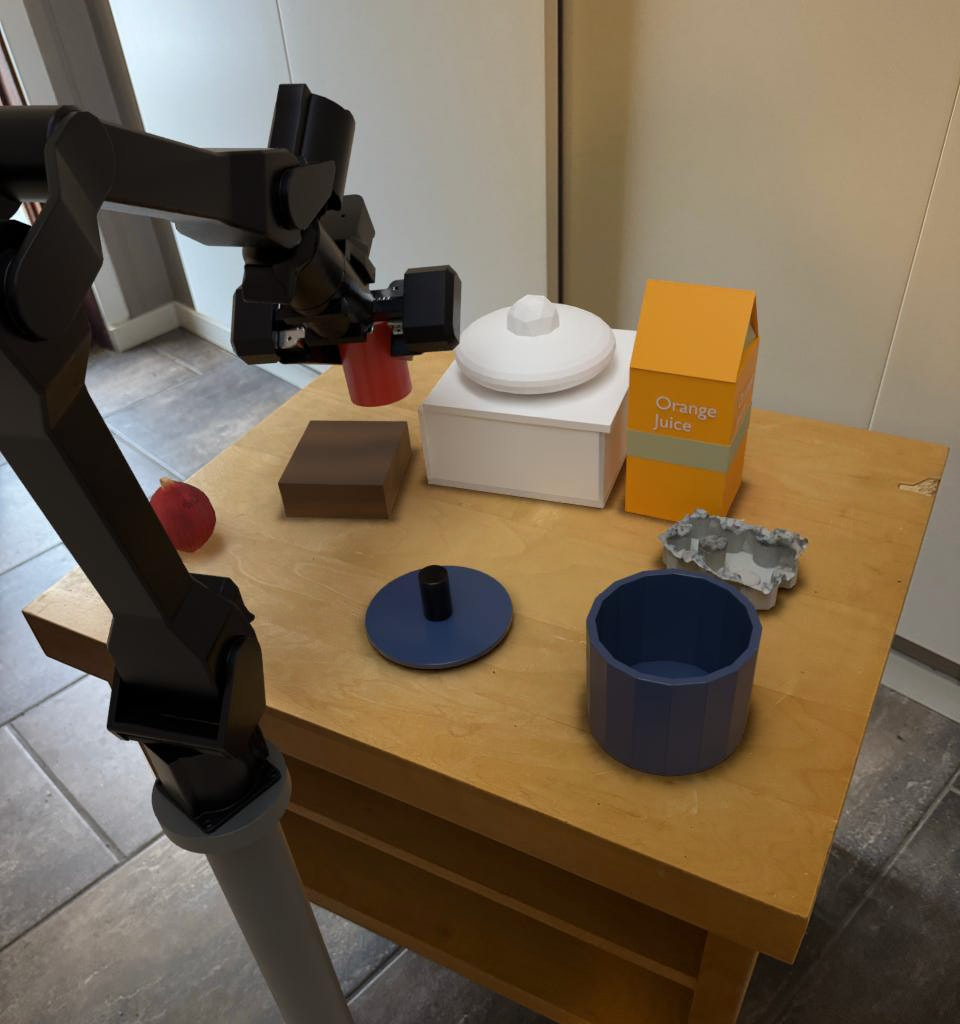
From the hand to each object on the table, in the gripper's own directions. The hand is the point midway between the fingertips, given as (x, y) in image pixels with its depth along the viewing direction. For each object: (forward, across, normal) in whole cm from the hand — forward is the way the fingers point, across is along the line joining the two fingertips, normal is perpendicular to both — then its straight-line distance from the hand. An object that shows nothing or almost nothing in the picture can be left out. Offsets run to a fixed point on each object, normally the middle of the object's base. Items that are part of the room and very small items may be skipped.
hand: (379, 357), depth 85 cm
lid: (-3, -7, +24) cm, 25 cm away
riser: (+9, +6, +9) cm, 14 cm away
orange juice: (+11, -26, +11) cm, 30 cm away
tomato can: (+1, 0, +3) cm, 3 cm away
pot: (-6, -25, +31) cm, 41 cm away
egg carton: (+4, -30, +19) cm, 36 cm away
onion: (+1, +18, +17) cm, 25 cm away
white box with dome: (+15, -12, +4) cm, 20 cm away
